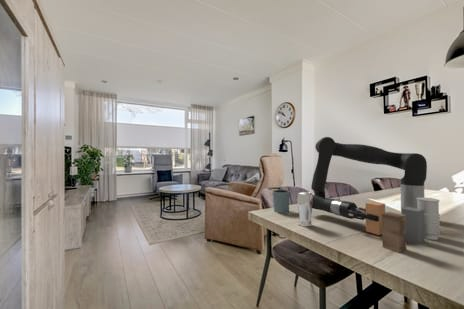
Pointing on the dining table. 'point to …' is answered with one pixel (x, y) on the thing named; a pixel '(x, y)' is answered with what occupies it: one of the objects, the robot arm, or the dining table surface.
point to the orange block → (376, 210)
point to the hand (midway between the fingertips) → (382, 217)
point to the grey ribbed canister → (430, 216)
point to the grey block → (414, 224)
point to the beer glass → (305, 208)
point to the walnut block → (394, 231)
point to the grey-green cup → (281, 200)
